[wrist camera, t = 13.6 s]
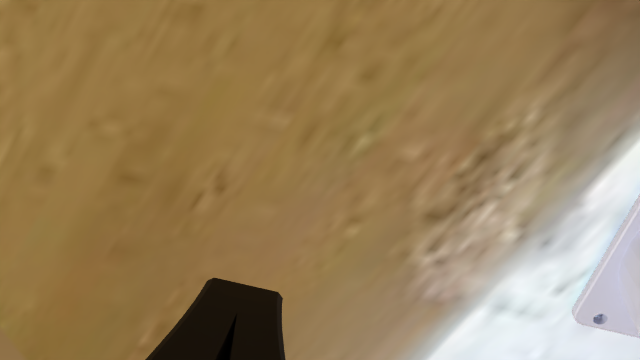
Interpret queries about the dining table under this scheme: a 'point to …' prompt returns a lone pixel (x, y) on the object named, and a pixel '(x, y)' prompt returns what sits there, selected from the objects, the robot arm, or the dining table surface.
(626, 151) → the dining table surface
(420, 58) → the dining table surface
